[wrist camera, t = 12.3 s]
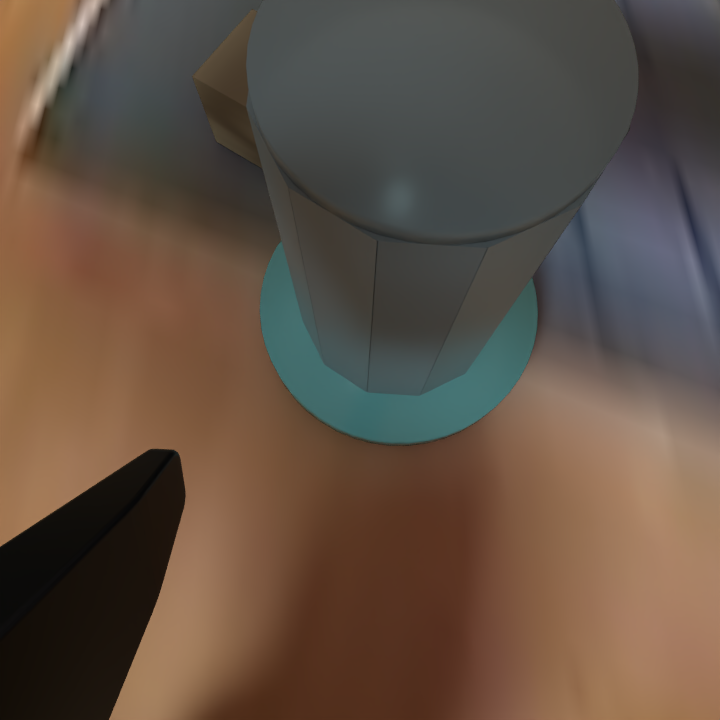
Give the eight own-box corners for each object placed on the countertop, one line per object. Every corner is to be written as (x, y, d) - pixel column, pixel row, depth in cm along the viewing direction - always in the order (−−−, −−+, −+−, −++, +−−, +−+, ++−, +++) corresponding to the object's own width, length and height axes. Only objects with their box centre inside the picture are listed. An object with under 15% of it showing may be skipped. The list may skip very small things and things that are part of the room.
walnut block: (337, 120, 27) (333, 52, 23) (287, 183, 26) (275, 123, 22) (267, 81, 28) (252, 8, 24) (216, 141, 27) (192, 76, 23)
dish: (576, 280, 25) (586, 268, 23) (439, 502, 22) (443, 500, 21) (361, 155, 26) (361, 138, 25) (210, 347, 24) (203, 338, 23)
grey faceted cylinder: (525, 280, 23) (703, 14, 11) (427, 432, 22) (516, 309, 10) (371, 189, 24) (385, -140, 12) (267, 327, 23) (165, 99, 11)
